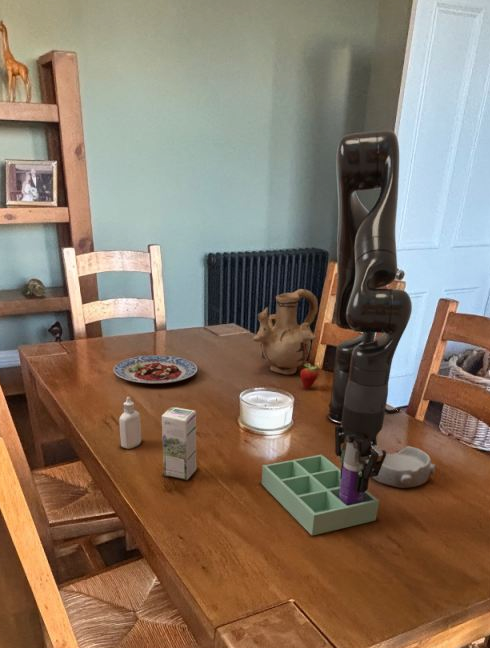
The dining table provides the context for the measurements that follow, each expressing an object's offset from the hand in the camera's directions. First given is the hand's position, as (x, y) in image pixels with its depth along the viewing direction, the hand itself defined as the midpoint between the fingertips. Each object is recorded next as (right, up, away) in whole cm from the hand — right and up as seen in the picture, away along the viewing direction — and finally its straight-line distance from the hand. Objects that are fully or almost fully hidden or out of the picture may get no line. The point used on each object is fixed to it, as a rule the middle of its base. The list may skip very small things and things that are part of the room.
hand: (352, 485), depth 120 cm
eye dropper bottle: (-48, +11, +28) cm, 57 cm away
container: (0, -5, +3) cm, 6 cm away
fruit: (-2, +32, +65) cm, 72 cm away
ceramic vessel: (-9, +41, +78) cm, 89 cm away
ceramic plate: (-48, +37, +71) cm, 94 cm away
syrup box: (-35, +3, +16) cm, 39 cm away
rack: (-6, -3, +7) cm, 10 cm away
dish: (+13, +3, +18) cm, 23 cm away
